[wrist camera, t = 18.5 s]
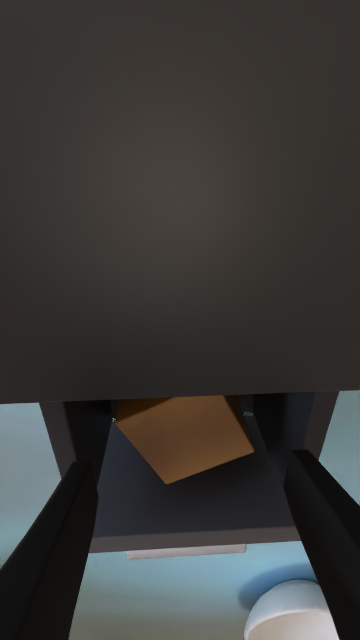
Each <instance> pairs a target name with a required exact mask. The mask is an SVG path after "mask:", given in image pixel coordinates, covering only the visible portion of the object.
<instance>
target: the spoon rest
mask: <svg viewBox="0 0 360 640" xmlns="http://www.w3.org/2000/svg"><path fill="white" fill-rule="evenodd" d="M244 638H245V640H339V638H338V635H337V632H336V629H335V626H334V622H333V619H332V616H331V614H330V611H329V608H328V606H327V603H326V600H325V598H324V595H323V593H322V590H321V588H320V585H318V584H317V583H315V582H313V581H310V580H300V579H299V580H290V581H286V582H282V583H280V584H278V585H276V586H274V587H273V588H271V589H270V590H269V591H267V592H266V593H265V594H263V595H262V596H261V597H260V598H259V600H258V601H257V602H256V604H255V605H254V607H253V608H252V610H251V612H250V614H249V617H248V620H247V623H246V626H245V630H244Z"/></svg>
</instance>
